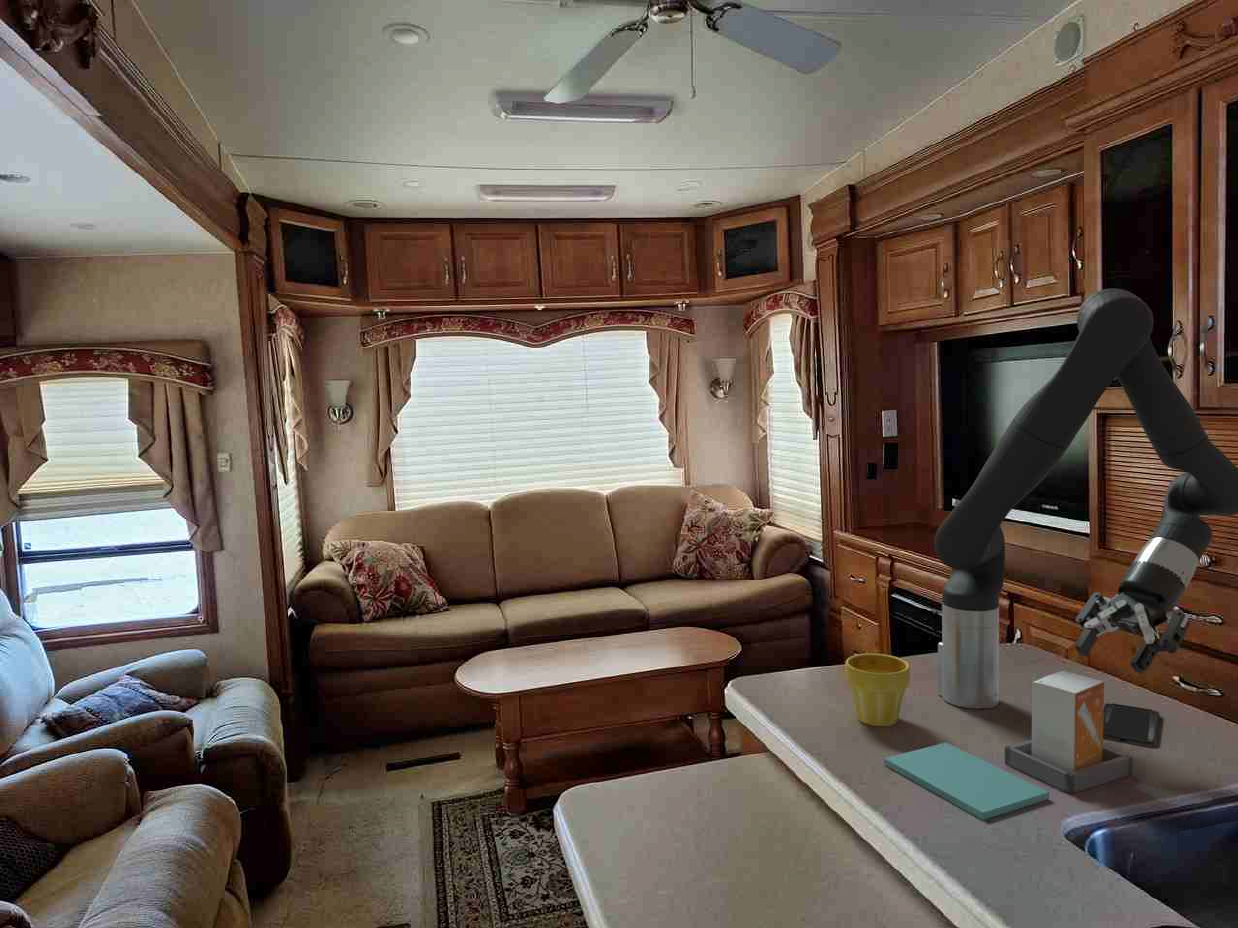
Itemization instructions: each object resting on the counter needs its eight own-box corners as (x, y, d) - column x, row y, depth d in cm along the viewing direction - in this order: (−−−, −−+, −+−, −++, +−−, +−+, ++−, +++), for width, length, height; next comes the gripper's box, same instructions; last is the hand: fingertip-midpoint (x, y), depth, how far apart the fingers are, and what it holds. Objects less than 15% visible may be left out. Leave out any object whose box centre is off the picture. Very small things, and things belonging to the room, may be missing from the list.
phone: (1159, 710, 136) (1154, 742, 124) (1159, 717, 136) (1154, 749, 124) (1104, 701, 141) (1094, 731, 128) (1104, 708, 141) (1094, 738, 129)
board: (884, 764, 121) (884, 758, 121) (945, 748, 126) (945, 742, 126) (982, 820, 105) (982, 812, 105) (1048, 799, 109) (1048, 791, 109)
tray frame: (1004, 763, 120) (1004, 746, 120) (1064, 746, 125) (1064, 730, 125) (1070, 793, 111) (1070, 775, 110) (1131, 774, 116) (1132, 757, 115)
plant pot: (916, 731, 133) (916, 672, 132) (851, 730, 134) (850, 672, 133) (902, 707, 143) (902, 653, 142) (841, 707, 144) (841, 652, 143)
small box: (1074, 784, 113) (1075, 693, 112) (1030, 768, 118) (1030, 680, 117) (1104, 768, 118) (1105, 680, 117) (1060, 753, 123) (1060, 669, 122)
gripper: (1102, 552, 129) (1051, 634, 125) (1197, 567, 116) (1143, 659, 112) (1124, 581, 132) (1075, 662, 128) (1219, 599, 119) (1167, 690, 115)
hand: (1107, 660), depth 120 cm, fingers open, 8 cm apart
